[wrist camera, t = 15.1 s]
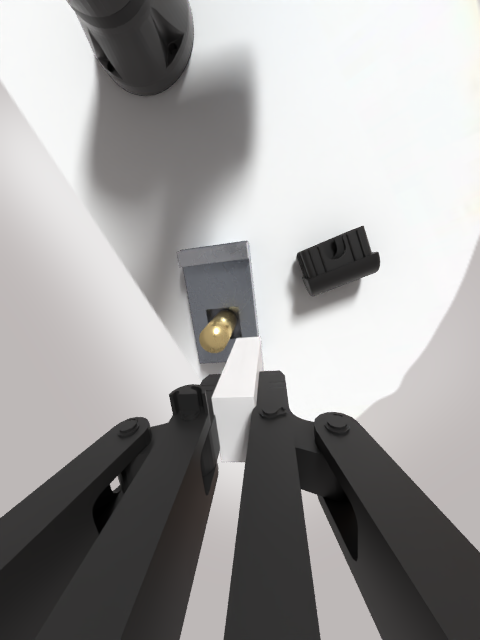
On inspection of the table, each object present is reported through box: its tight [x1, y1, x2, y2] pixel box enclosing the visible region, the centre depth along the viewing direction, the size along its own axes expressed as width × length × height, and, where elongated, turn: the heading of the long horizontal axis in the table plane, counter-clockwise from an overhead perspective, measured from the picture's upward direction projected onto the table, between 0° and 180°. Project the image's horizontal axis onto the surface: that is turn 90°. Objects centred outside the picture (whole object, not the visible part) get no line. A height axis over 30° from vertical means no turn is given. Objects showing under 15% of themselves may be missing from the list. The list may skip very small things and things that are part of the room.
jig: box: [177, 241, 259, 364], centre depth 41 cm, size 20×11×5 cm, turn 7°
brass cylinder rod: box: [199, 310, 237, 353], centre depth 37 cm, size 4×4×10 cm
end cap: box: [297, 226, 380, 296], centre depth 36 cm, size 10×7×7 cm
